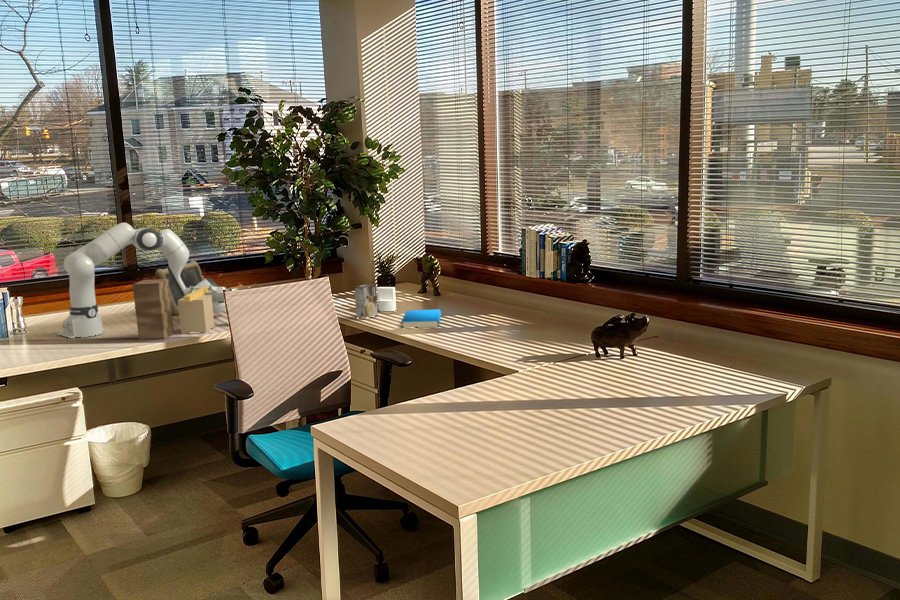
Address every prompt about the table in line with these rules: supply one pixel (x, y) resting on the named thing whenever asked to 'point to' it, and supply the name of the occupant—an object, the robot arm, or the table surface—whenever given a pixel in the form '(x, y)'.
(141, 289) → the walnut post
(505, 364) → the table surface
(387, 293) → the white recessed box
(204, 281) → the robot arm
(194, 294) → the tan wooden beam
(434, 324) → the book
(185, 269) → the grey open box
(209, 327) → the cardboard box
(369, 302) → the coffee box
